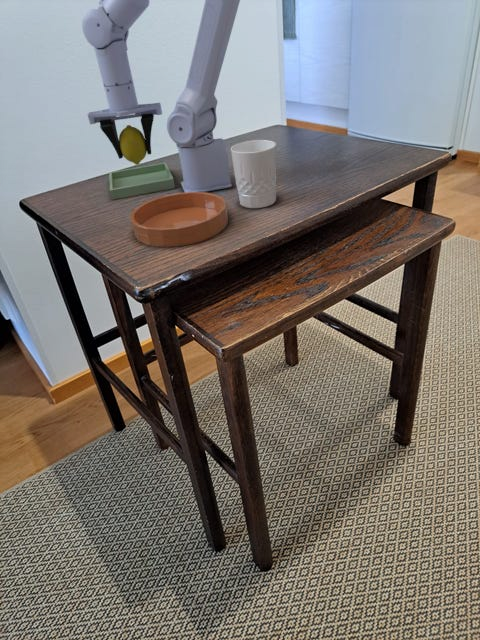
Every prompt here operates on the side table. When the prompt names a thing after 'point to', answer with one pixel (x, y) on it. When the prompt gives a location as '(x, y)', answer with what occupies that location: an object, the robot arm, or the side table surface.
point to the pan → (179, 219)
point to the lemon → (132, 144)
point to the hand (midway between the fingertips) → (135, 155)
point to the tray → (140, 180)
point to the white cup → (255, 172)
